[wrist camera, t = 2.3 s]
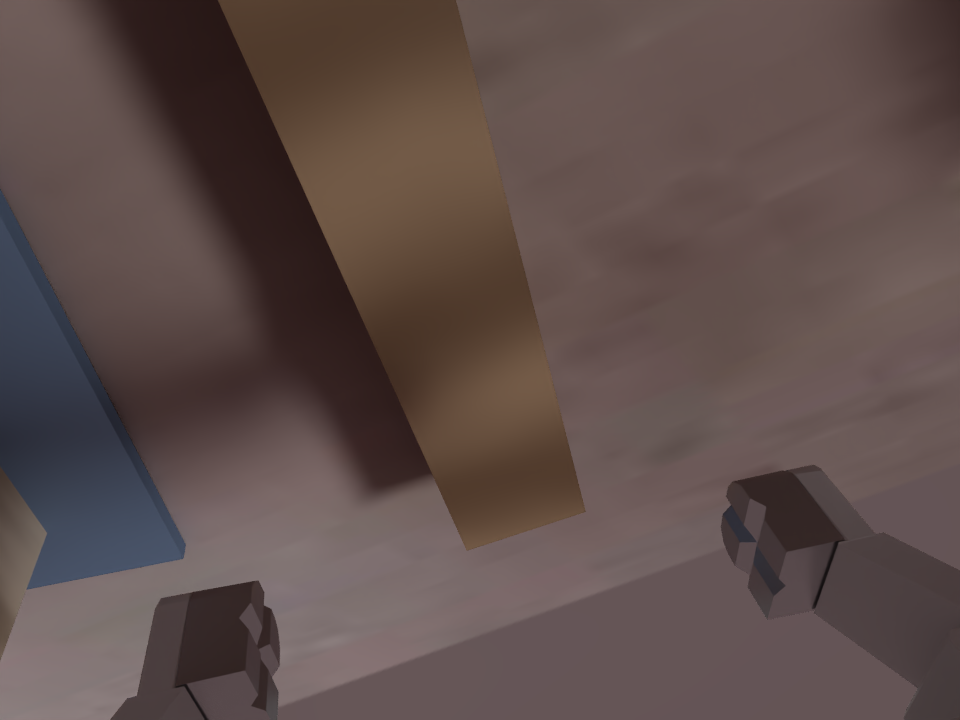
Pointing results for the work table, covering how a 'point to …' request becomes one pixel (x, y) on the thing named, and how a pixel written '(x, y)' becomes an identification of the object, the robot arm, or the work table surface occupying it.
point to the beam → (421, 240)
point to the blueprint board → (68, 436)
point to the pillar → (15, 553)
